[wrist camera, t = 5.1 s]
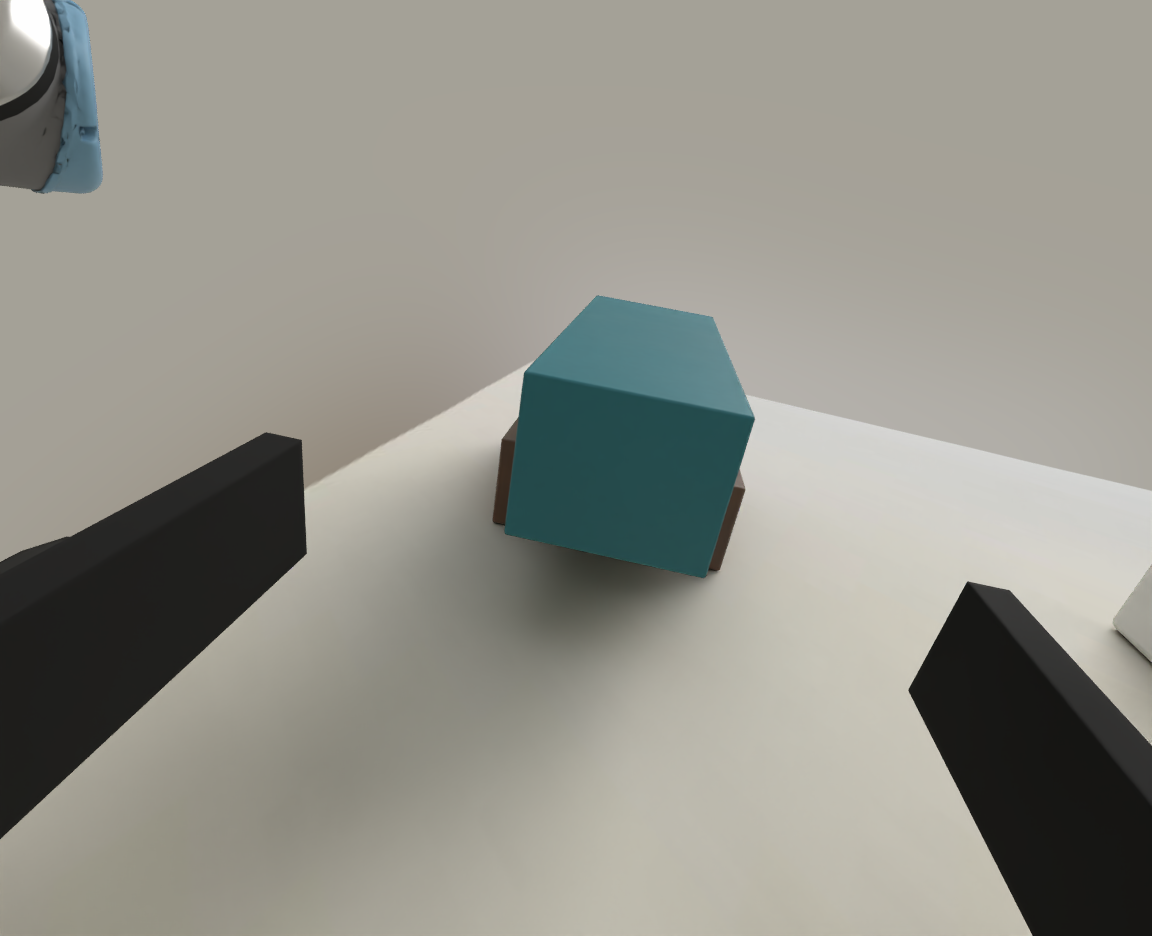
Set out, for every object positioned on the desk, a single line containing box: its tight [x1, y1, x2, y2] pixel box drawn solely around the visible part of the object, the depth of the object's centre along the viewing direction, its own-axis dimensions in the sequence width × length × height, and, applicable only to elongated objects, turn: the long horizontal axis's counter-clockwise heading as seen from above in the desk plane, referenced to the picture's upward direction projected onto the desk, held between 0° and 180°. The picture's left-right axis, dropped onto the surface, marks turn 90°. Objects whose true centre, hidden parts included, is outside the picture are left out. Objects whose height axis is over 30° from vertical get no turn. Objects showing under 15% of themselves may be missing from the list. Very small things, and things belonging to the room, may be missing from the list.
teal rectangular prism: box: [504, 296, 755, 578], centre depth 23 cm, size 6×16×5 cm, turn 172°
